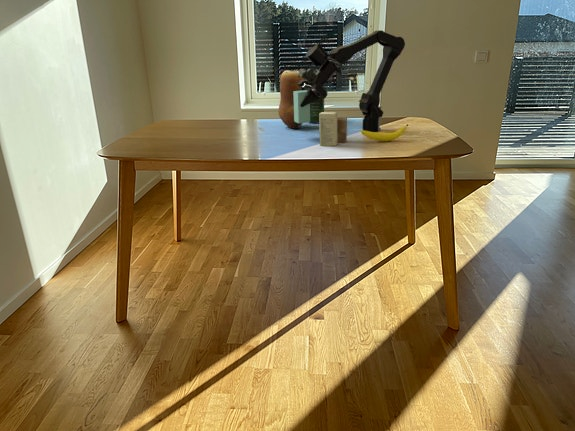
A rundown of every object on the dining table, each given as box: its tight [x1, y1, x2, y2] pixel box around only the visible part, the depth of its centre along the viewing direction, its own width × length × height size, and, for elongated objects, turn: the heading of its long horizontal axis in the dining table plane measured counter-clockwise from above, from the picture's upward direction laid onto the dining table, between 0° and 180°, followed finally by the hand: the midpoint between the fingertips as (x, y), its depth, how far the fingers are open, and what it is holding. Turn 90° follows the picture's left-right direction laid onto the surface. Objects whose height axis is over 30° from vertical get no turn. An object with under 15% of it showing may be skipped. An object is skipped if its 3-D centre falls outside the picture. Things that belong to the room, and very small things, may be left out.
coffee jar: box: [308, 85, 325, 124], centre depth 201 cm, size 10×8×19 cm
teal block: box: [293, 90, 310, 124], centre depth 169 cm, size 5×5×12 cm
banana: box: [359, 124, 409, 142], centre depth 163 cm, size 3×19×6 cm, turn 96°
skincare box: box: [318, 111, 338, 147], centre depth 160 cm, size 6×4×12 cm
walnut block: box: [337, 117, 348, 144], centre depth 164 cm, size 4×4×9 cm
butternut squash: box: [278, 69, 306, 130], centre depth 190 cm, size 14×13×25 cm
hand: (298, 105), depth 168 cm, fingers closed on teal block, 5 cm apart
